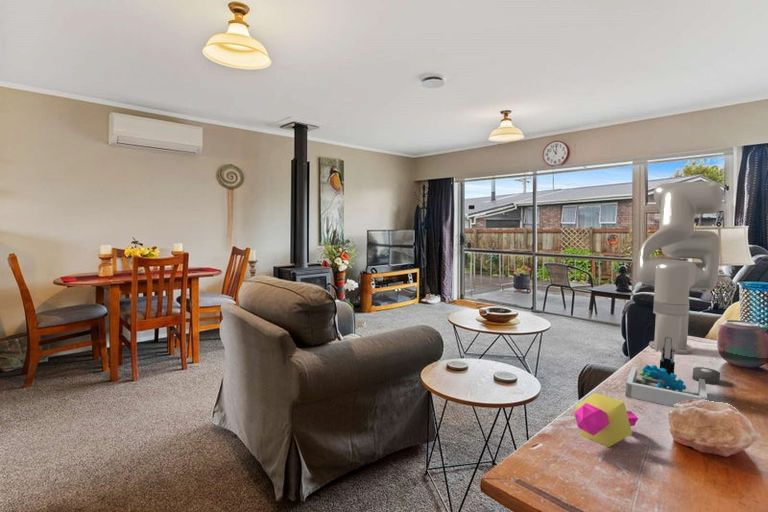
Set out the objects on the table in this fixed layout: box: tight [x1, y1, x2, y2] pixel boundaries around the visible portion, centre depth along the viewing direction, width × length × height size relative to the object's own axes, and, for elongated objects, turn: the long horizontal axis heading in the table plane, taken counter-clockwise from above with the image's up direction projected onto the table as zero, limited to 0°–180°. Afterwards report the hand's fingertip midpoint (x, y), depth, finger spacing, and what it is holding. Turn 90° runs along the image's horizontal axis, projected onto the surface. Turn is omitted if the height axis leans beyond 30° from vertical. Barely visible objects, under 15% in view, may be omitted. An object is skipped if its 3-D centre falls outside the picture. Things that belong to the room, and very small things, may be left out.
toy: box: [574, 392, 639, 448], centre depth 83 cm, size 10×18×10 cm, turn 127°
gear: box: [639, 364, 687, 393], centre depth 107 cm, size 11×6×10 cm
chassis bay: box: [625, 366, 708, 407], centre depth 105 cm, size 15×16×4 cm
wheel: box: [692, 366, 721, 386], centre depth 115 cm, size 6×6×3 cm
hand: (666, 375), depth 109 cm, fingers closed
